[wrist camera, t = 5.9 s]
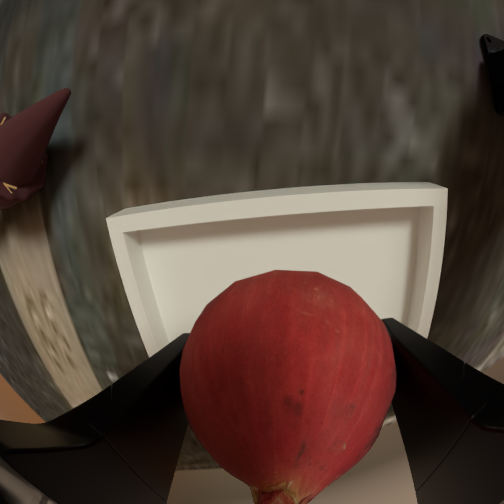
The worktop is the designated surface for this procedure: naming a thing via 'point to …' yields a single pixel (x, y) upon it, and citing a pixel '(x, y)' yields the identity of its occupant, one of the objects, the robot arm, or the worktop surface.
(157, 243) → the tray
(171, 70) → the worktop surface
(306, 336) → the onion
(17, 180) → the dark red toy figure
